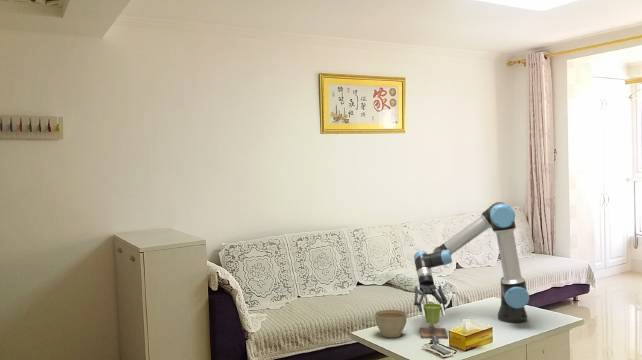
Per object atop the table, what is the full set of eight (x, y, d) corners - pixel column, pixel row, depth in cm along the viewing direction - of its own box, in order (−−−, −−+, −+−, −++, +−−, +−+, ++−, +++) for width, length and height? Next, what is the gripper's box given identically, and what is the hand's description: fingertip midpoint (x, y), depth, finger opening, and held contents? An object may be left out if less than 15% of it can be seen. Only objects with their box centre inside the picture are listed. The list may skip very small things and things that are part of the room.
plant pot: (420, 320, 275) (420, 303, 274) (438, 319, 275) (438, 302, 275) (425, 325, 265) (425, 308, 265) (444, 325, 266) (444, 307, 266)
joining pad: (444, 330, 276) (444, 328, 276) (447, 338, 263) (447, 336, 263) (419, 330, 278) (419, 327, 278) (421, 338, 265) (421, 335, 265)
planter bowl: (409, 331, 277) (408, 310, 276) (405, 341, 261) (404, 319, 261) (378, 329, 281) (377, 308, 281) (372, 339, 265) (372, 317, 265)
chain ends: (434, 327, 281) (434, 324, 281) (439, 344, 256) (439, 340, 256) (428, 327, 281) (428, 324, 281) (432, 344, 256) (432, 340, 256)
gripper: (444, 281, 286) (454, 319, 271) (403, 282, 285) (410, 321, 269) (447, 273, 280) (457, 312, 265) (405, 274, 279) (413, 313, 264)
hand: (433, 316), depth 267 cm, fingers closed on plant pot, 9 cm apart
